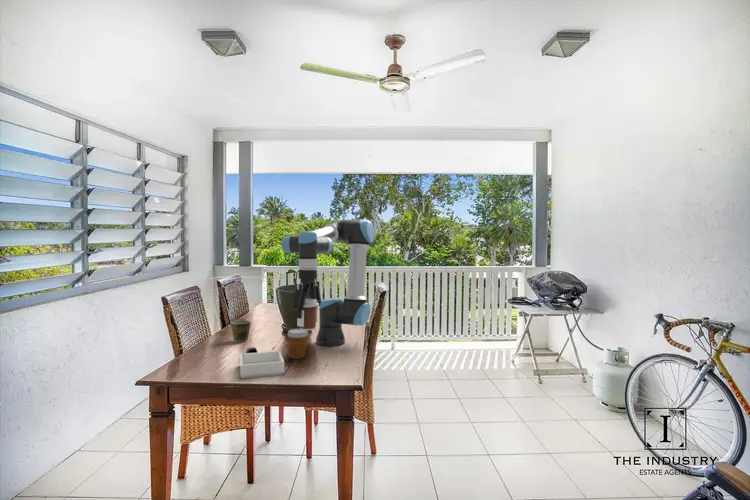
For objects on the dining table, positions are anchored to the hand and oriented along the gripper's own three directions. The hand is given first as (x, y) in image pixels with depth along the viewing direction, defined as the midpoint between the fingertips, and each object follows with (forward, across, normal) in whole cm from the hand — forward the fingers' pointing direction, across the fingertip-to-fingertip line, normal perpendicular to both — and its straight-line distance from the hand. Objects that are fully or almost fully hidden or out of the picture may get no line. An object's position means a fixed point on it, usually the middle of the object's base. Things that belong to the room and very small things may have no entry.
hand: (307, 323), depth 164 cm
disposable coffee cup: (+20, -14, -15) cm, 29 cm away
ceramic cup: (+20, -22, -58) cm, 65 cm away
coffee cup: (+2, 0, 0) cm, 2 cm away
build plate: (+20, -4, -34) cm, 39 cm away
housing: (+19, +8, -18) cm, 27 cm away
